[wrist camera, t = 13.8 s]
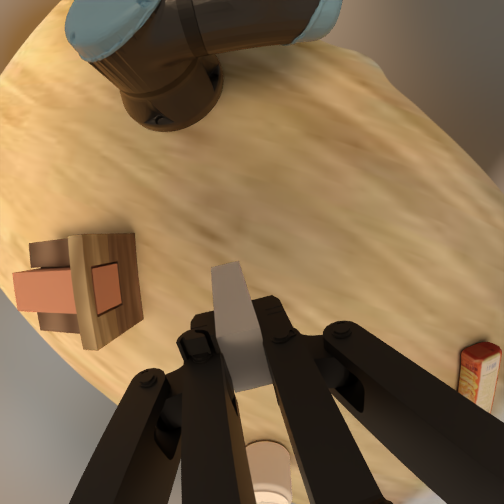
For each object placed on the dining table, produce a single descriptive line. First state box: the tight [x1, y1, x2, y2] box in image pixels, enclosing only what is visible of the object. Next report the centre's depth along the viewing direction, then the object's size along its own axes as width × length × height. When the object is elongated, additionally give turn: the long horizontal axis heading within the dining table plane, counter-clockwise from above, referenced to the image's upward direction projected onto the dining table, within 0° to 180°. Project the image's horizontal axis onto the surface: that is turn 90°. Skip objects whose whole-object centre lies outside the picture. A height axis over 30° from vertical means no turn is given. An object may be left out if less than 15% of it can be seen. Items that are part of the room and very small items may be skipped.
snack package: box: [458, 342, 502, 413], centre depth 37 cm, size 21×7×7 cm, turn 10°
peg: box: [13, 264, 122, 314], centre depth 33 cm, size 14×5×6 cm, turn 94°
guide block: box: [29, 233, 143, 351], centre depth 36 cm, size 14×12×14 cm
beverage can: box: [246, 441, 292, 504], centre depth 37 cm, size 8×8×12 cm
